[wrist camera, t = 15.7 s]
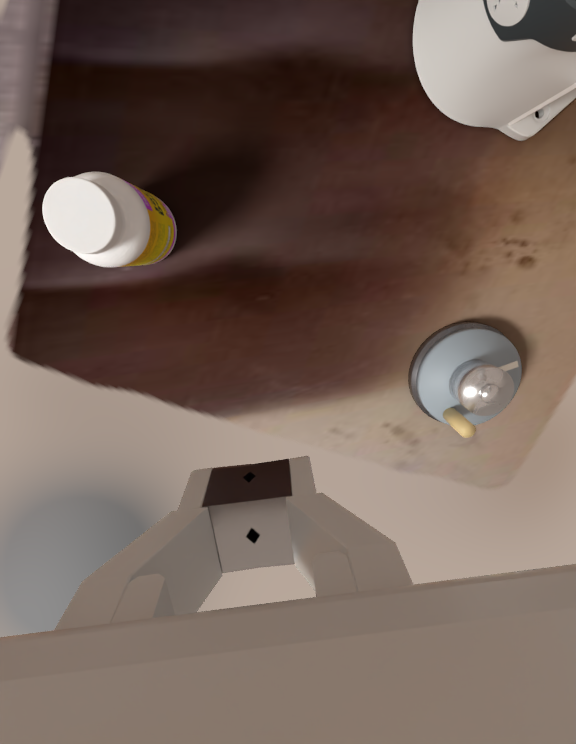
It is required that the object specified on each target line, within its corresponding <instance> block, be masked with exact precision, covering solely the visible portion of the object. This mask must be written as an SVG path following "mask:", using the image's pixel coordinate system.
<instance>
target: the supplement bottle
mask: <svg viewBox="0 0 576 744" xmlns="http://www.w3.org/2000/svg"><path fill="white" fill-rule="evenodd" d="M42 210H43V218H44V221H45V224H46V226H47V229H48V230H49V232H50V234H51V235H52V236H53V238H54V239H55V240H56V241H57V242H58V243H59V244H61V245H62V246H64V247H65V248H67V249H69V250H71V251H73V252H74V253H75V254H76V255H78V256H79V257H80V258H82V259H84V260H85V261H87V262H89V263H91V264H94V265H97V266H102V267H122V266H135V265H148V264H154V263H157V262H159V261H161V260H163V259H164V258H166V257H167V256H168V255H169V254H170V252H171V251H172V249H173V247H174V245H175V242H176V236H177V229H176V223H175V220H174V217H173V215H172V213H171V211H170V210H169V208H168V207H167V206H166V205H165V203H163V202H162V201H161V200H160V199H159V198H157V197H156V196H154V195H152V194H150V193H148V192H146V191H144V190H142V189H140V188H138V187H136V186H134V185H132V184H130V183H128V182H126V181H124V180H122V179H120V178H118V177H116V176H113V175H111V174H108V173H103V172H87V173H83V174H80V175H78V176H75V177H67V178H64V179H61V180H59V181H57V182H55V183H54V184H53V185H52V186H51V187H50V188H49V189H48V191H47V193H46V194H45V197H44V200H43V208H42Z"/></svg>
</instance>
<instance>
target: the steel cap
mask: <svg viewBox="0 0 576 744" xmlns="http://www.w3.org/2000/svg"><path fill="white" fill-rule="evenodd" d="M449 391H450V394H451V395H452V397H453V398H454V399H455V400H456V401H458V402H459V403H460V404H461V405H463V406H464V407H465V408H466V409H468V410H469V411H470V412H472V413H473V414H475V415H478V416H490V415H493V414H496V413H498V412H500V411H501V410H503V409H504V408H505V407H506V406H507V405H508V404H509V402H510V401H511V399H512V396H513V393H514V382H513V379H512V377H511V376H510V375H509V374H508V373H507V372H506V371H504V370H502V369H500V368H498V367H496V366H494V365H492V364H490V363H488V362H486V361H484V360H479V359H473V360H469V361H466V362H464V363H462V364H461V365H459V366H458V367H457V368H456V369H455V370H454V372H453V373H452V375H451V377H450V380H449Z"/></svg>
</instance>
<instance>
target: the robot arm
mask: <svg viewBox="0 0 576 744" xmlns="http://www.w3.org/2000/svg"><path fill="white" fill-rule="evenodd" d="M413 53H414V60H415V65H416V69H417V73H418V76H419V79H420V81H421V84H422V86H423V88H424V90H425V92H426V93H427V95H428V97H429V98H430V99H431V101H432V102H433V103H434V105H435V106H436V107H437V108H438V109H439V110H440V111H441V112H443V113H444V114H445V115H447V116H448V117H450V118H451V119H453V120H455V121H457V122H459V123H462V124H465V125H470V126H476V127H491V128H496V129H498V130H500V131H501V132H503V133H504V134H506V135H508V136H509V137H511V138H513V139H516V140H519V141H523V140H526V139H528V138H530V137H531V136H533V135H534V134H536V133H537V132H538V131H539V130H540V129H542V128H543V127H544V126H545V125H546V124H547V123H548V122H549V121H550V120H552V119H553V118H554V117H555V116H556V115H557V114H558V113H559V112H560V111H562V110H563V109H564V108H565V107H566V106H567V105H568V104H569V103H570V102H572V101H573V100H574V99H575V98H576V0H419V2H418V5H417V9H416V14H415V19H414V26H413ZM536 111H537V112H538V113H539V117H538V119H537V118H536V117H535V112H536ZM289 461H290V463H289ZM291 564H295V566H296V568H297V569H298V570H299V571H300V573H301V574H302V575H303V576H304V578H305V579H306V580H307V581H308V583H309V584H310V585H311V586H312V588H313V589H314V590H315V591H316V597H313V598H306V599H297V600H289V601H282V602H274V603H266V604H259V605H251V606H243V607H235V608H227V609H219V610H211V611H204V612H197V611H198V609H199V608H200V606H201V605H202V604H203V602H204V601H205V599H206V598H207V596H208V595H209V594H210V592H211V591H212V589H213V588H214V587H215V585H216V584H217V582H218V581H219V579H220V578H221V577H222V573H227V572H233V571H240V570H246V569H253V568H259V567H270V566H280V565H291ZM0 744H576V564H572V565H564V566H556V567H549V568H541V569H533V570H525V571H517V572H509V573H501V574H494V575H486V576H478V577H470V578H463V579H455V580H447V581H439V582H431V583H423V584H415V585H413V583H412V580H411V578H410V576H409V573H408V571H407V569H406V567H405V564H404V562H403V560H402V557H401V555H400V552H399V550H398V548H397V546H396V543H395V542H393V541H392V540H391V539H389V538H388V537H386V536H385V535H383V534H382V533H380V532H379V531H377V530H376V529H374V528H373V527H371V526H370V525H369V524H367V523H366V522H364V521H363V520H361V519H360V518H358V517H357V516H355V515H354V514H353V513H351V512H350V511H348V510H347V509H345V508H344V507H342V506H341V505H339V504H338V503H336V502H335V501H334V500H332V499H331V498H329V497H327V496H326V495H325V494H323V493H316V489H315V484H314V478H313V473H312V468H311V463H310V458H309V457H308V456H304V457H298V458H292V459H284V460H278V461H271V462H264V463H258V464H246V465H237V466H228V467H218V468H207V469H200V470H194V471H192V473H191V475H190V478H189V481H188V483H187V486H186V489H185V491H184V494H183V497H182V499H181V502H180V505H179V508H178V510H177V511H172V512H170V513H169V514H168V515H166V516H165V517H164V518H163V519H161V520H160V521H159V522H157V523H156V524H155V525H154V526H152V527H151V528H150V529H148V530H147V531H146V532H145V533H143V534H142V535H141V536H140V537H138V538H137V539H136V540H134V541H133V542H132V543H131V544H129V545H128V546H127V547H126V548H124V549H123V550H122V551H120V552H119V553H118V554H117V555H115V556H114V557H113V558H112V559H110V560H109V561H108V562H106V563H105V564H104V565H103V566H101V567H100V568H99V569H98V570H96V571H95V572H94V573H92V574H91V575H90V576H89V577H87V578H86V579H85V580H84V581H83V582H82V583H81V585H80V586H79V588H78V590H77V592H76V593H75V595H74V597H73V599H72V600H71V602H70V604H69V605H68V607H67V609H66V611H65V612H64V614H63V616H62V618H61V619H60V621H59V623H58V625H57V626H56V628H55V630H54V631H47V632H38V633H30V634H22V635H15V636H7V637H0Z"/></svg>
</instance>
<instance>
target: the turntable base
mask: <svg viewBox="0 0 576 744" xmlns="http://www.w3.org/2000/svg"><path fill="white" fill-rule="evenodd" d="M464 328H483V329H487V330H490V331H493V332H496V333H498V334H500V335H502V336H504V335H503V334H502V333H501V332H499V331H498V330H496V329H494V328H492V327H490V326H487V325H484V324H481V323H476V322H459V323H454V324H451V325H448V326H445V327H443V328H441V329H439V330H438V331H436V332H435V333H433V334H432V335H431V336H430V337H428V338H427V339H426V340H425V341H424V342H423V343H422V345H421V346H420V347H419V349H418V350H417V352H416V353H415V355H414V357H413V360H412V362H411V365H410V369H409V380H408V382H409V389H410V392H411V395H412V397H413V399H414V401H415V402H416V404H417V405H418V406H419V407H420V409H421V410H422V411H423V412H424V413H426V414H427V415H428V416H430V417H431V418H433V419H435V420H437V421H439V420H438V419H436V418H435V417H434V416H432V415H431V414H430V413H429V412H428V411H427V410H426V408H425V407H424V406H423V404H422V403H421V401H420V399H419V397H418V393H417V388H416V377H417V372H418V368H419V365H420V363H421V361H422V359H423V357H424V355H425V354H426V353H427V351H428V350H429V349H430V348H431V347H432V346H433V344H434V343H436V342H437V341H438V340H439V339H441V338H442V337H444V336H445V335H447V334H449V333H451V332H454V331H456V330H459V329H464ZM504 337H505V336H504ZM505 338H506V337H505ZM440 422H441V421H440Z"/></svg>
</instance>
